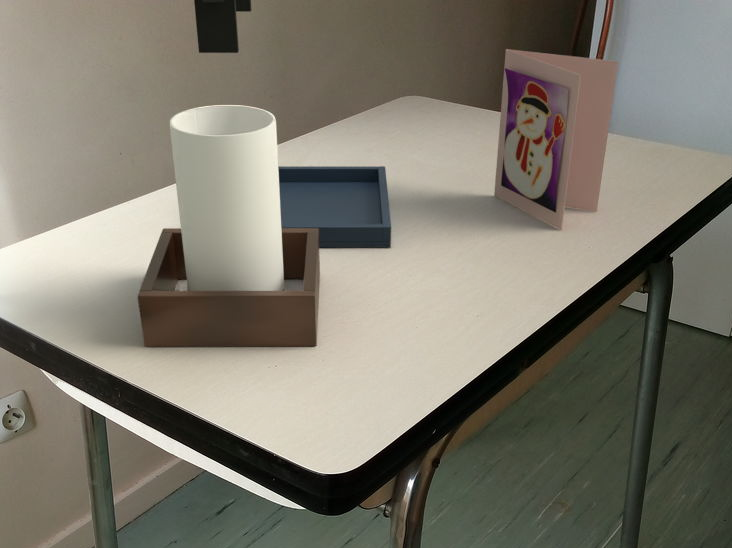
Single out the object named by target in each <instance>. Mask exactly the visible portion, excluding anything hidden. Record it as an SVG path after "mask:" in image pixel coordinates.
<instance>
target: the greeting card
mask: <svg viewBox="0 0 732 548" xmlns="http://www.w3.org/2000/svg"><path fill="white" fill-rule="evenodd" d="M504 55H505V57H504V66H503V67H504V69H503V79H502V80H503V81H502V94H501V105H500V106H501V107H500V117H499V128H498V129H499V131H498V143H497V154H496V166H495V168H496V169H495V178H494V179H495V181H494V192H493V195H494V197H496V198H498V199H500V200H502V201H504V202H506V203H508V204H510V205H512V206H514V207H515V208H518V209H520V210H522V211H523V212H526V213H528V214H529V215H531V216H532V217H534V218H537V219H539V220H541V221H542V222H545V223H546V224H548V225H550V226H552V227H554V228H556V229H559V230H560V231H562V230H563V223H564V216H565V215H564V214H565V208H571V209H578V210H583V211H589V212H595V213H596V212H598V206H599V199H600V192H601V186H602V178H603V172H604V166H605V165H604V164H605V157H606V151H607V145H608V144H607V143H608V139H609V129H610V123H611V116H612V110H613V102H614V94H615V88H616V81H617V74H618V67H619V61H618V60H609V59H599V58H591V57H582V56H573V55H563V54H554V53H544V52H538V51H537V52H535V51H526V50H518V49H517V50H516V49H508V48H506V49H505V54H504Z"/></svg>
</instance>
